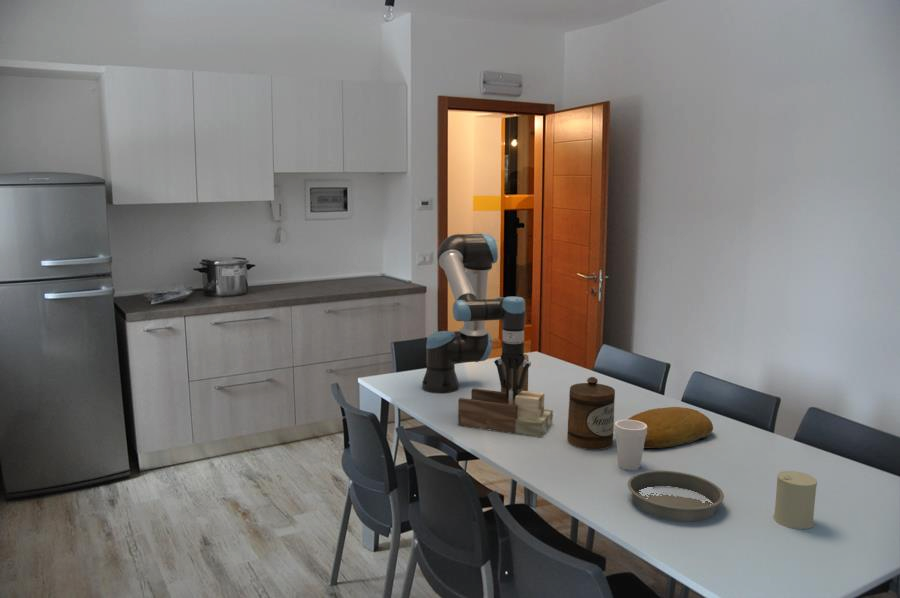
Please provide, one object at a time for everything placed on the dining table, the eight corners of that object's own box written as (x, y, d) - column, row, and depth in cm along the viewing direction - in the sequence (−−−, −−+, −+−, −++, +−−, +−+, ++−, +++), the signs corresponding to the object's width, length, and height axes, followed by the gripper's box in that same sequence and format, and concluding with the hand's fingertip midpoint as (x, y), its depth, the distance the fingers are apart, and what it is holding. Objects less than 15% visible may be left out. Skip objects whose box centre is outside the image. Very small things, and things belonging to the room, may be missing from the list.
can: (766, 513, 186) (770, 469, 184) (800, 512, 187) (804, 468, 185) (785, 530, 177) (789, 484, 175) (821, 528, 178) (825, 483, 176)
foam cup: (627, 474, 211) (629, 431, 208) (606, 463, 219) (608, 422, 217) (651, 468, 215) (653, 427, 213) (630, 458, 223) (632, 418, 221)
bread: (723, 438, 242) (725, 409, 240) (644, 455, 226) (645, 425, 224) (682, 422, 258) (684, 395, 256) (606, 437, 242) (607, 408, 240)
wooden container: (597, 453, 227) (600, 386, 223) (558, 442, 237) (560, 377, 233) (621, 441, 237) (624, 377, 234) (582, 431, 247) (585, 369, 244)
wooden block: (527, 404, 277) (528, 353, 274) (527, 412, 267) (528, 360, 264) (501, 403, 278) (502, 352, 275) (500, 411, 268) (501, 359, 265)
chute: (473, 413, 266) (473, 388, 264) (552, 423, 254) (552, 397, 253) (458, 425, 252) (458, 399, 250) (541, 437, 241) (541, 410, 239)
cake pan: (743, 518, 184) (744, 501, 183) (659, 530, 177) (660, 513, 176) (686, 480, 207) (687, 465, 206) (610, 490, 200) (610, 474, 199)
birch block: (522, 409, 254) (522, 390, 253) (543, 412, 251) (544, 393, 250) (514, 416, 247) (515, 396, 246) (537, 419, 244) (537, 399, 242)
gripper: (491, 342, 246) (490, 408, 250) (528, 345, 242) (526, 412, 245) (498, 337, 253) (497, 402, 257) (534, 341, 248) (532, 406, 252)
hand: (511, 407), depth 251 cm, fingers closed
